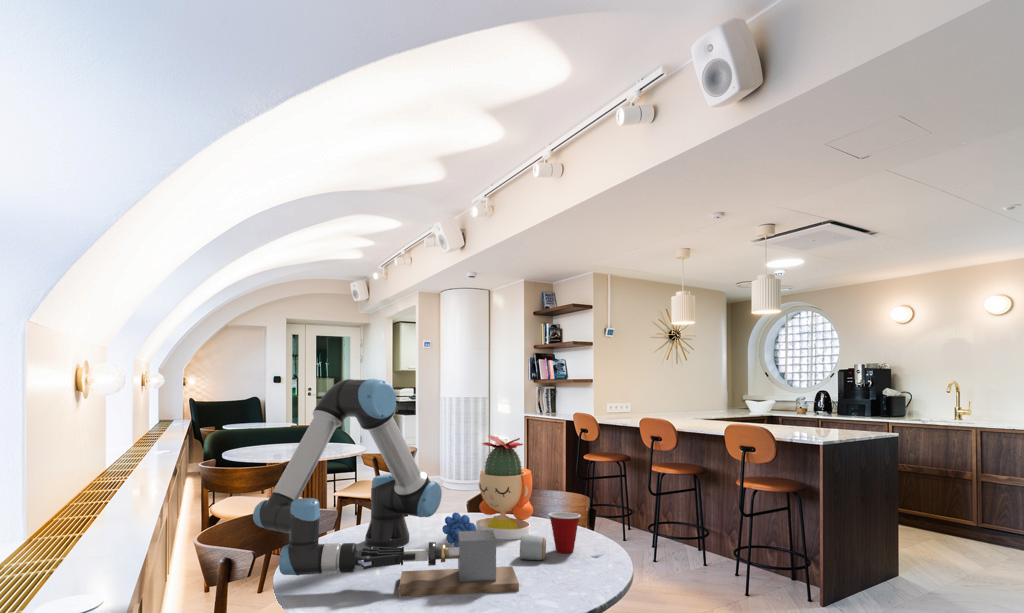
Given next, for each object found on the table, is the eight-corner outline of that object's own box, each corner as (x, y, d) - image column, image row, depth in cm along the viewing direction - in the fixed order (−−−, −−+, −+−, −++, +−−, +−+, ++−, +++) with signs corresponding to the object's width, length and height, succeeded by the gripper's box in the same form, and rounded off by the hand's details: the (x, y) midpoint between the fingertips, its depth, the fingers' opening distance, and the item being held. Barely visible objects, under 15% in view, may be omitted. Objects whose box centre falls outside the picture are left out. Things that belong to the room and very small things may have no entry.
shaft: (428, 568, 159) (428, 545, 160) (428, 561, 165) (428, 539, 166) (493, 565, 161) (494, 543, 162) (491, 559, 167) (492, 537, 168)
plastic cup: (584, 547, 197) (584, 511, 198) (577, 557, 187) (576, 518, 188) (553, 544, 200) (553, 508, 202) (544, 553, 190) (544, 515, 192)
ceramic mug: (544, 563, 181) (544, 538, 182) (519, 562, 182) (519, 537, 183) (547, 554, 191) (547, 530, 192) (523, 552, 192) (523, 529, 193)
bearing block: (459, 583, 158) (459, 541, 159) (458, 571, 168) (458, 531, 169) (496, 581, 159) (496, 539, 160) (492, 569, 169) (492, 530, 170)
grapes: (440, 553, 191) (440, 515, 192) (443, 547, 198) (443, 510, 199) (475, 553, 191) (475, 515, 192) (477, 547, 197) (477, 510, 199)
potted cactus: (515, 542, 203) (515, 440, 207) (464, 533, 215) (465, 436, 219) (546, 528, 221) (545, 434, 225) (497, 520, 233) (497, 431, 237)
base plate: (398, 596, 154) (398, 588, 154) (401, 578, 167) (401, 571, 168) (518, 590, 158) (518, 583, 158) (512, 573, 171) (512, 566, 172)
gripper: (343, 564, 165) (428, 561, 168) (335, 580, 152) (426, 577, 155) (344, 537, 166) (428, 534, 169) (336, 550, 153) (427, 547, 156)
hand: (427, 554), depth 162 cm, fingers closed
